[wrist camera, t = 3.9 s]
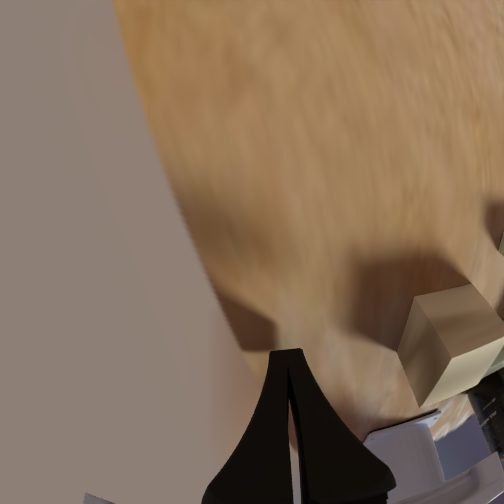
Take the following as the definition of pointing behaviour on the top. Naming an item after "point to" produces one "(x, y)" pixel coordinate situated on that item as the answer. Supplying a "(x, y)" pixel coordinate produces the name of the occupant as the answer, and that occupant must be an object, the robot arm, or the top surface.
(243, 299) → the top surface
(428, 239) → the top surface
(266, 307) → the top surface
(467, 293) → the birch block
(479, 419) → the supplement bottle
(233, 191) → the top surface
